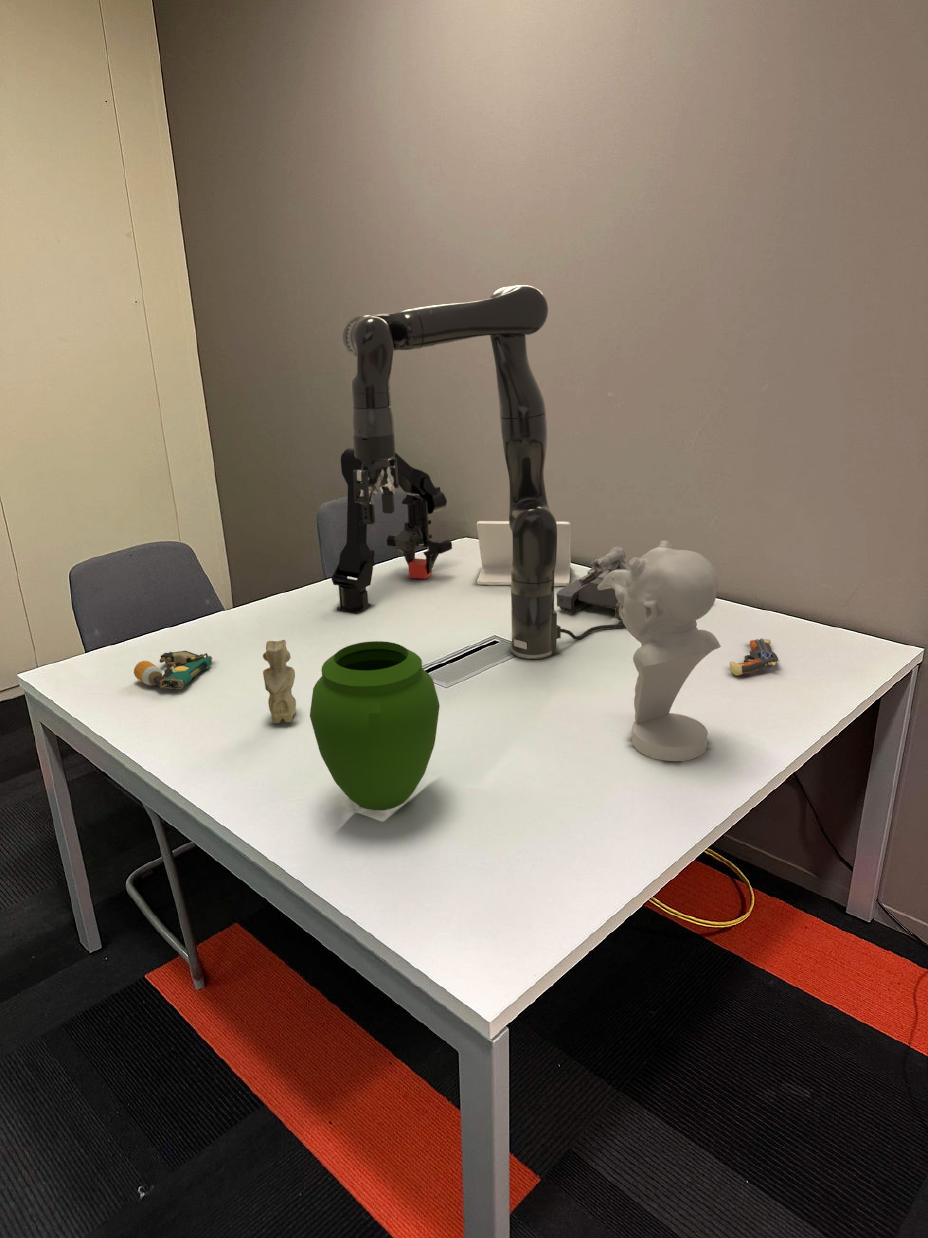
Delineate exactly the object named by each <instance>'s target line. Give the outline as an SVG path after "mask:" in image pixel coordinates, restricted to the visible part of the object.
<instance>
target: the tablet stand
mask: <svg viewBox="0 0 928 1238" xmlns="http://www.w3.org/2000/svg"><path fill="white" fill-rule="evenodd" d="M556 524H557V558H556V567H555V571H554V587H556V586H557V587H566V586H567V585H569V584H570V580H571V579H570V578H571V565H572V564H571V560H572V558H571V522H569V521H556ZM476 531H477V537H478V544H479V551H480V557H481V558H480V559H481V570H480V573H479V575H478V577H477V580H476V581H477V582H476V584H478V585H484V586H485V585H486V586H487V585H489V586H490V585H491V586H511V565H512V560H513V535H512V532H511V529H510V525H509V520H505V521H504V520H477V522H476Z"/></svg>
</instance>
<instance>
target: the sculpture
mask: <svg viewBox="0 0 928 1238" xmlns="http://www.w3.org/2000/svg"><path fill="white" fill-rule="evenodd" d="M265 649H266V650H265V652H264V653H262V659H263V660H264V661H265V662H267V663H268V664H269V667H268V668H265V669H263V671H262V675H263V676H262V677H263V681H264V689H265V690H266V692H268V693H269V696H268V700H267V701H268V703H267V704H268V709H269V712H270V715H271V719H272V723H273V724H280V723H281V721H282V720H283V721H284V723H291V722H292V721H293V717H294V715H295V713H296V710H297V700H296V698H295V697H294V695H293V694H292V693H293V692H292V689H293V687H294V683H295V678H296V672H295V668H294V667H292V666H289V665H287V663H288V662H290V660H291V659H292V658H291V657H292V656H291V653H290V651H289V650H288V648H287V640H286V639H282V640H276V641H275V640H268V641H267V642H266V644H265Z"/></svg>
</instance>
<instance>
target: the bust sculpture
mask: <svg viewBox="0 0 928 1238" xmlns="http://www.w3.org/2000/svg"><path fill="white" fill-rule="evenodd" d="M628 565H629V569H630V571H628V570H614V571H612V572H610V573H608V574H607V575H606V576H605V578H604V579H603V581H602V582H601V583H600V584H599V585H598V587H597V588H598V590H604V589H609V588H613V589H614V590H615V596H616V598H617V600H618V601H619V602H620V603H621V605H620V608H619V615H620V617H621V619H622V621H621V622H622V624H624V625H625V627H624V628H626V630H627V632H628V633H629V635H631V636H632V637H633V638H635V640H636V641H638V642H639V643H640V645H641V646H640V647H638V649H636V650H635V652H634V653H633V656H632V662H633V664H634V667H635V669H636V671H637V673H638V675H637V678H636V682H635V688H634V698H633V707H634V722H633V723H632V726H631V744H632V746H633V747H634V749H636V750H637V751H638V752H639V753H640V754H642V755H644V756H647V757H650V758H652V759H655V760H661V761H665V762H683V761H689V760H690V761H691V760H694V759H696V758H699V757H700V756H702V755H703V754H704V753H705V752H706V750H707V748H708V747H707V746H708V734H709V733H708V729H707V727H706V726H705V725H704V724H703V723H702V722H700V721H699V720H697V719H696V718H693V717H690V716H687V715H684V714H679V713H673V712H671V710H672V706H673V705H674V702H675V700H676V698H677V696H678V695H679V693H680V691H681V689H682V687H683V685H684V684H685V682H686V681H687V680H688V678H689V676H690V674H691V673H692V672H693V670H694V669H695V668H696V666H697V665H698V664H699V663H700V662H701V661H702V660H703V659H704V658H706V657H707V656H708V655H709V654H711V653H712V652H713V651H714V650H717V649H719V648H721V647H722V645H721V643H720V642H719V640H718V639H717V637H716V636H715V634H713V632H711V631H709V630H706V629H699V628H698V626H697V625H698V623H697V621H698V620H700V619H701V618H703V617H704V616H706V615H707V614H708V613H709V612H710V611H711V609H712V608H713V606H714V604H715V602H716V598H717V595H718V587H719V581H718V575H717V571H716V570H715V567H714V566H713V565H712V562H711V561H709V560H708V559H707V558H706V557H705V556H703V554H700V553H699V552H696V551H693V550H686V549H684V550H683V549H676V548H675V549H674V548H673V547H672V545H671V543H670V541H668V540H661V541H660V542H659V545H658V546H657V547H654V548H652V549H650V550H649V551H647V552H646V553H644V554H643V555H642V556H641V557H632V558H630V559H629V562H628Z"/></svg>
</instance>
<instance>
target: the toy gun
mask: <svg viewBox="0 0 928 1238" xmlns="http://www.w3.org/2000/svg"><path fill="white" fill-rule="evenodd" d="M771 644H772V640H771V639H769V638H759V639H758V638H756V639H752V640H751V639H750V640H749V647H750V649H751V650H749V654H746V655H744V659H743V662H735V661H733V660H732V661H730V662H729V669H730V671H731V673H732V674H733V676H741V675H745V674H749V673H752V672H754V671H758V670H762V669H765V668H768V667H769V666H773V667H775V666H776V664H777V662H780V659H779V657H778V655H777V653H775V652H774V651H773V650H772V648H771Z"/></svg>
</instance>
